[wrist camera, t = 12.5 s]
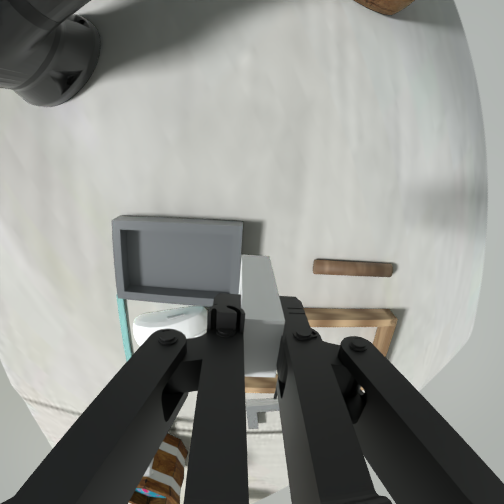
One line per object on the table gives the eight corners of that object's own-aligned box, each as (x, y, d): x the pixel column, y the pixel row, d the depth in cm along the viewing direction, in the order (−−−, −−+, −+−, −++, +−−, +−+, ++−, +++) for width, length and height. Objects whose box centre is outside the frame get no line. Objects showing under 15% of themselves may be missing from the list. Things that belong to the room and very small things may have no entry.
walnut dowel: (314, 276, 43) (317, 265, 42) (312, 268, 44) (314, 256, 43) (389, 279, 43) (394, 269, 42) (385, 271, 45) (389, 261, 44)
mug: (185, 465, 59) (178, 516, 45) (131, 453, 58) (116, 501, 44) (193, 419, 53) (183, 480, 39) (127, 403, 52) (104, 460, 38)
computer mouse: (219, 336, 47) (216, 360, 41) (144, 346, 48) (134, 369, 42) (208, 301, 45) (203, 322, 39) (131, 313, 46) (117, 334, 40)
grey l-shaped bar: (248, 422, 54) (248, 429, 52) (245, 399, 52) (245, 406, 50) (329, 414, 54) (331, 420, 52) (332, 390, 52) (335, 397, 50)
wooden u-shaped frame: (235, 378, 50) (235, 392, 46) (240, 305, 45) (239, 317, 42) (367, 376, 51) (373, 389, 47) (389, 308, 46) (397, 319, 43)
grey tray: (124, 289, 44) (117, 298, 41) (119, 215, 41) (111, 220, 38) (238, 298, 45) (237, 308, 42) (242, 221, 41) (242, 226, 39)
